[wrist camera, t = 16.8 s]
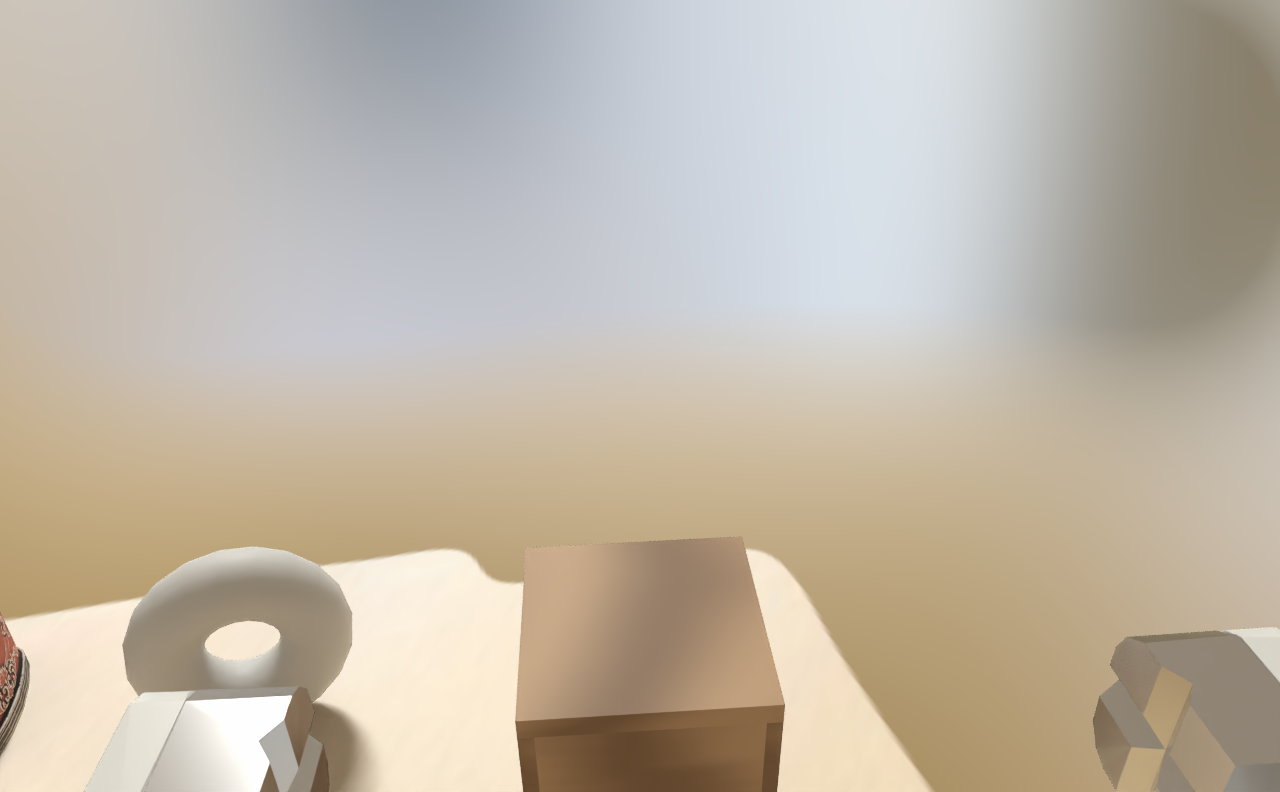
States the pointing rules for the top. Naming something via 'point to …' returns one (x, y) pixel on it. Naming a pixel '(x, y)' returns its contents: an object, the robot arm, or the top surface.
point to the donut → (235, 592)
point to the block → (646, 670)
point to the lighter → (11, 684)
